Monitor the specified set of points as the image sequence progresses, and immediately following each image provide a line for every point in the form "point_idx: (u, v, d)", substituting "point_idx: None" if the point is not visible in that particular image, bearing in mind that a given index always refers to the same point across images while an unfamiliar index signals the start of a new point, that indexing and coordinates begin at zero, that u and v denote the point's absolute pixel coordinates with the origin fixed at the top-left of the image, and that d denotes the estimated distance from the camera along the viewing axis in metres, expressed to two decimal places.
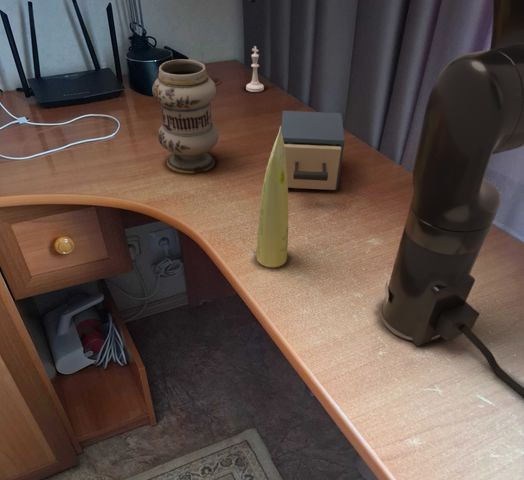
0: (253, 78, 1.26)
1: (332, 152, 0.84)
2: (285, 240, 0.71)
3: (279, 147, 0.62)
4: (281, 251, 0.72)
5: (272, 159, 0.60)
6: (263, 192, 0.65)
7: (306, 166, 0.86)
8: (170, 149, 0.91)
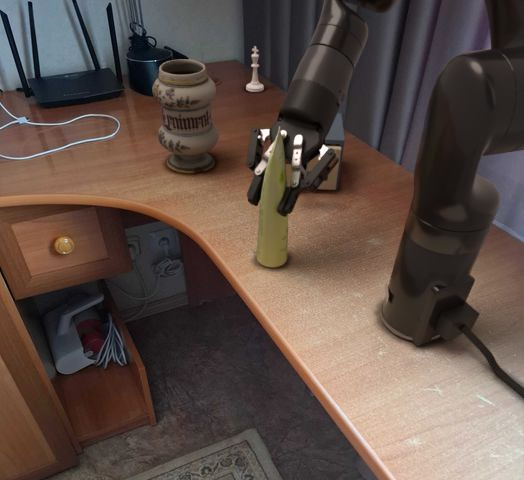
0: (253, 78, 1.26)
1: None
2: (285, 240, 0.71)
3: (278, 147, 0.62)
4: (281, 251, 0.72)
5: (271, 159, 0.60)
6: (263, 192, 0.65)
7: None
8: (170, 149, 0.91)
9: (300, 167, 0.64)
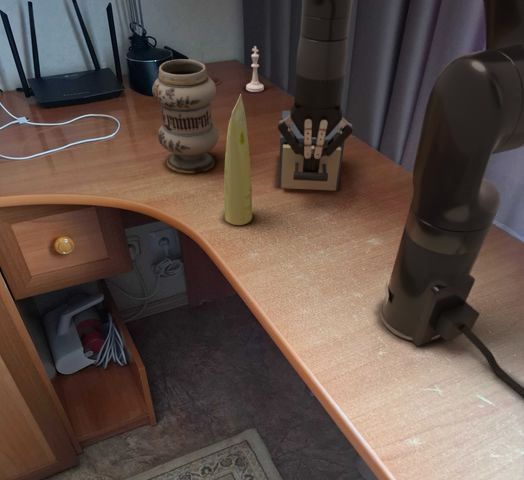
0: (253, 78, 1.26)
1: (332, 153, 0.84)
2: (249, 199, 0.79)
3: (238, 111, 0.70)
4: (245, 209, 0.80)
5: (231, 120, 0.68)
6: (226, 153, 0.73)
7: None
8: (170, 149, 0.91)
9: None
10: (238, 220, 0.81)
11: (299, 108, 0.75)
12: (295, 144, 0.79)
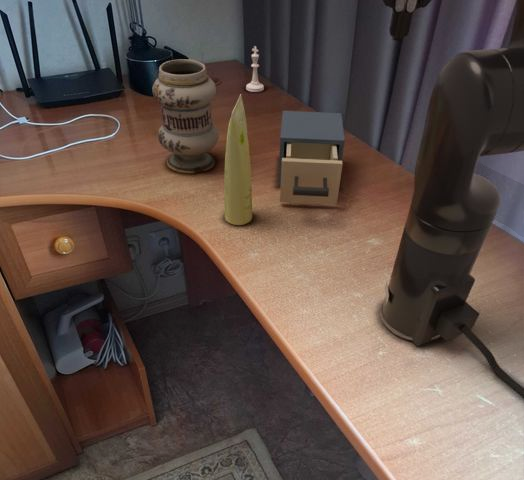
0: (253, 78, 1.26)
1: (333, 167, 0.80)
2: (249, 199, 0.79)
3: (238, 111, 0.70)
4: (245, 209, 0.80)
5: (231, 120, 0.68)
6: (226, 153, 0.73)
7: (306, 181, 0.83)
8: (170, 149, 0.91)
9: None
10: (238, 220, 0.81)
11: None
12: None
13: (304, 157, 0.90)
